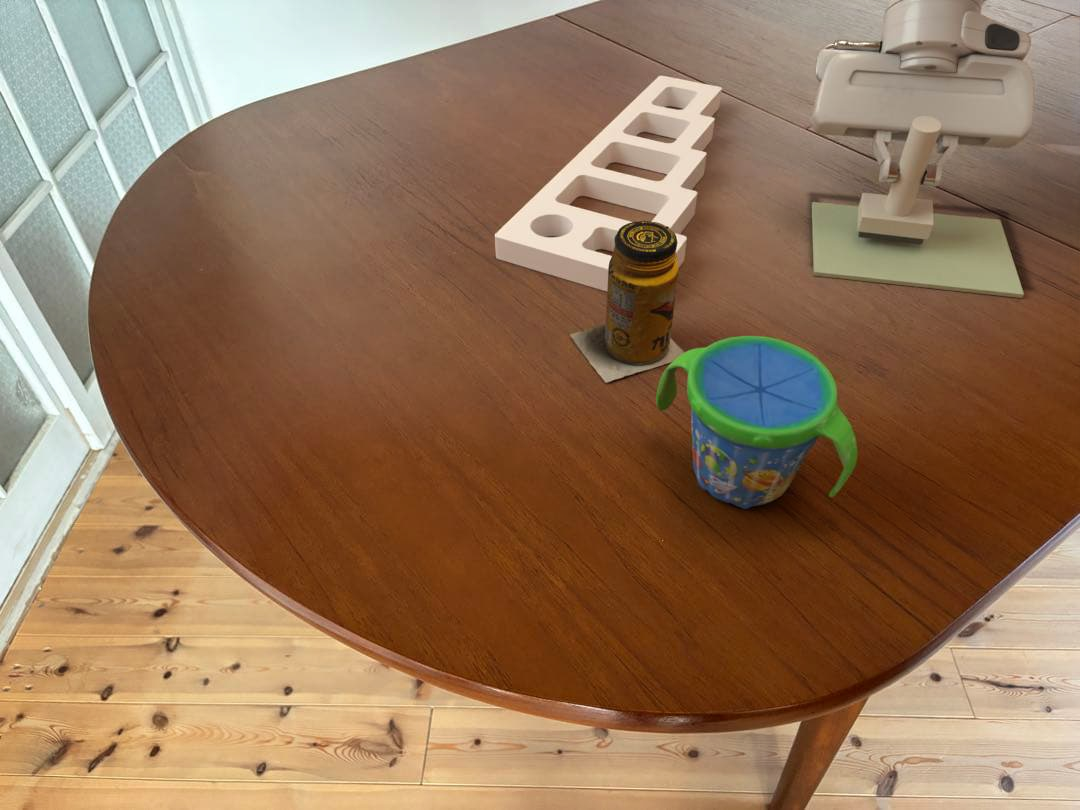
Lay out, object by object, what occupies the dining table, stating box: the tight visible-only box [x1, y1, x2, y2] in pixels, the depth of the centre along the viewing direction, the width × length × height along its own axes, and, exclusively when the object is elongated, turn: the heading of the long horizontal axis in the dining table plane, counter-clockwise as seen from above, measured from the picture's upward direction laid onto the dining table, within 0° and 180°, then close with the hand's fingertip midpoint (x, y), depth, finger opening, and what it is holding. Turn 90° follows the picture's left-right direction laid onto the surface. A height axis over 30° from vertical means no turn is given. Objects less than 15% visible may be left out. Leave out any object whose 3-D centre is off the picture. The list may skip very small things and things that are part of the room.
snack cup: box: [655, 335, 858, 510], centre depth 65 cm, size 16×10×10 cm
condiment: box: [569, 220, 686, 383], centre depth 76 cm, size 7×8×12 cm
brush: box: [858, 116, 942, 245], centre depth 86 cm, size 7×4×13 cm, turn 76°
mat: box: [811, 201, 1025, 299], centre depth 91 cm, size 20×14×1 cm
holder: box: [494, 75, 723, 292], centre depth 101 cm, size 45×18×3 cm, turn 152°
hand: (909, 182), depth 85 cm, fingers closed on brush, 2 cm apart
